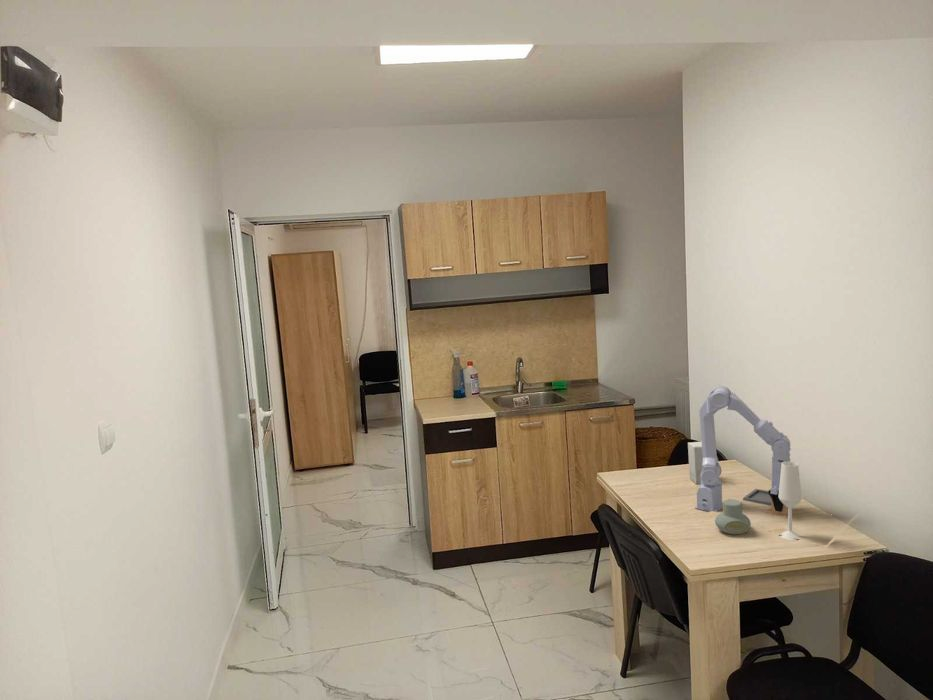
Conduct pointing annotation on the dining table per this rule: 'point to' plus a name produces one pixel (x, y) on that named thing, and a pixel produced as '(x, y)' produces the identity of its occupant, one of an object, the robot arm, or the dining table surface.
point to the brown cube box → (784, 511)
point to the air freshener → (732, 518)
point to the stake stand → (780, 514)
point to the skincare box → (695, 461)
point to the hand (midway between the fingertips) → (781, 508)
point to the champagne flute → (790, 494)
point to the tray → (758, 497)
